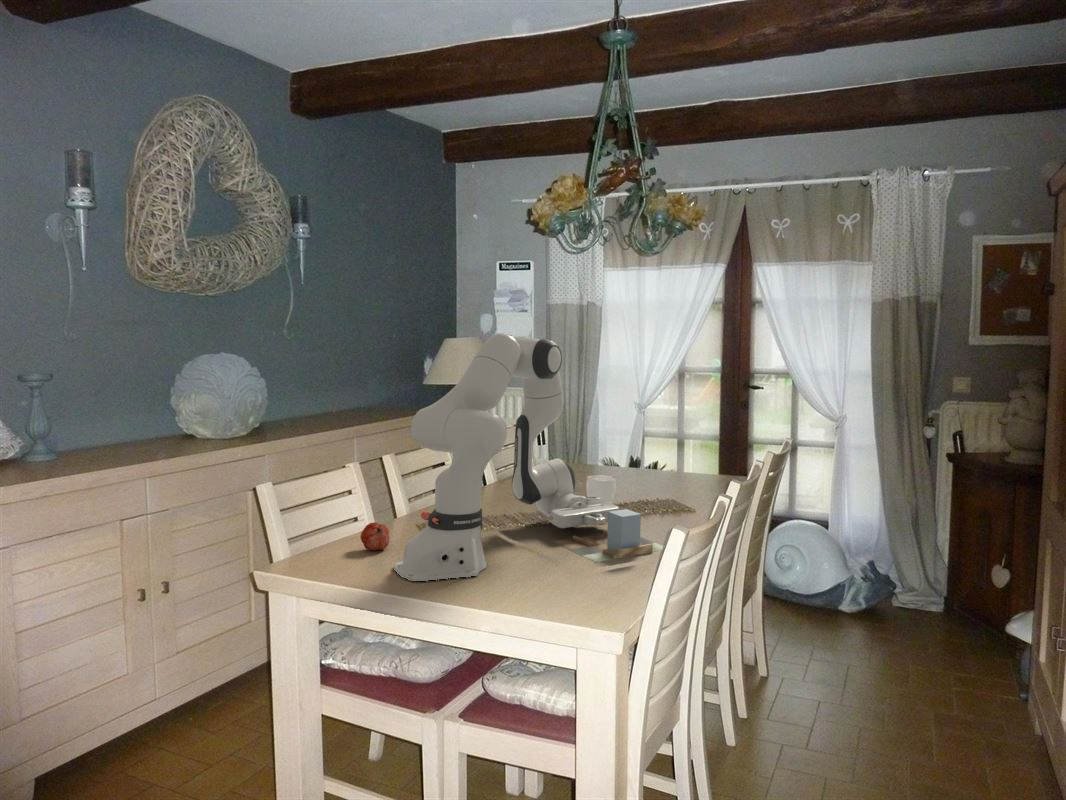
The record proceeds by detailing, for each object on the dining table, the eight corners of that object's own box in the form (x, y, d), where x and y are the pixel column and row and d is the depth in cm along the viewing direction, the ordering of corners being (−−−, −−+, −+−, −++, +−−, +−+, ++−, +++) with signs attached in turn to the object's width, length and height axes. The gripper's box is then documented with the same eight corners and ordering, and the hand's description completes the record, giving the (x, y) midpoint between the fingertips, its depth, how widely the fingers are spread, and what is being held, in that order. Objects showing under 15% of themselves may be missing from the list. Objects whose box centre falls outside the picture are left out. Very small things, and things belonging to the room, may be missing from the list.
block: (621, 555, 200) (622, 516, 199) (607, 549, 205) (608, 511, 204) (639, 551, 203) (640, 514, 202) (625, 545, 208) (626, 509, 207)
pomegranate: (357, 557, 206) (363, 542, 198) (357, 530, 210) (363, 515, 202) (385, 557, 209) (392, 543, 201) (385, 531, 212) (392, 516, 205)
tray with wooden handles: (595, 566, 194) (595, 554, 194) (552, 545, 211) (552, 534, 211) (670, 552, 206) (670, 541, 206) (623, 533, 224) (624, 523, 223)
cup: (591, 520, 238) (592, 481, 237) (581, 513, 247) (582, 475, 246) (619, 518, 241) (620, 480, 239) (608, 511, 249) (609, 474, 248)
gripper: (542, 504, 219) (569, 515, 207) (602, 496, 229) (631, 506, 217) (542, 526, 219) (568, 538, 207) (602, 517, 230) (630, 528, 218)
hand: (601, 522), depth 212 cm, fingers closed
